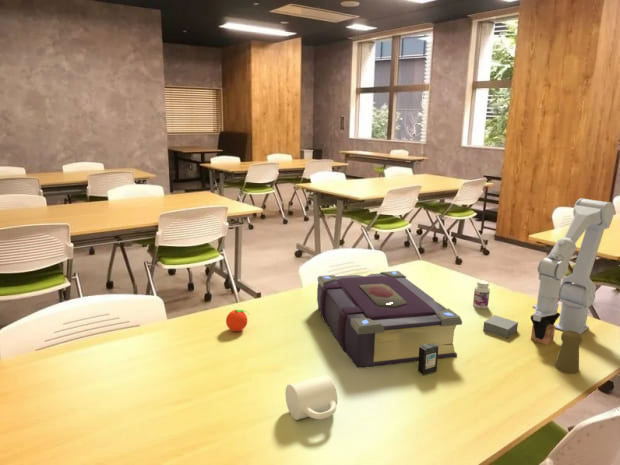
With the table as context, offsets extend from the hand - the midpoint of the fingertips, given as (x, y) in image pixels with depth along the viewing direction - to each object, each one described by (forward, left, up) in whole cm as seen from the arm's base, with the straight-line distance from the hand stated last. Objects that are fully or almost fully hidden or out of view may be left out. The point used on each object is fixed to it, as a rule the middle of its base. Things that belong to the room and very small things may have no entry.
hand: (542, 335), depth 148 cm
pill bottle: (-11, -27, -2) cm, 29 cm away
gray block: (+4, -12, -2) cm, 13 cm away
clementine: (+70, -69, -2) cm, 98 cm away
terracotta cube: (0, 0, -1) cm, 1 cm away
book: (+35, -39, -2) cm, 52 cm away
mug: (+82, -19, -2) cm, 84 cm away
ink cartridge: (+45, -13, -2) cm, 47 cm away
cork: (+13, +12, -2) cm, 18 cm away
